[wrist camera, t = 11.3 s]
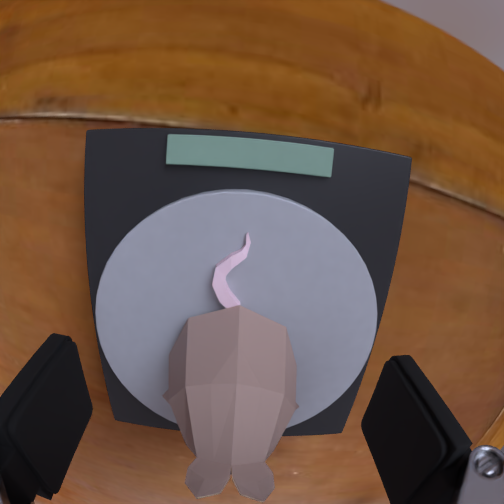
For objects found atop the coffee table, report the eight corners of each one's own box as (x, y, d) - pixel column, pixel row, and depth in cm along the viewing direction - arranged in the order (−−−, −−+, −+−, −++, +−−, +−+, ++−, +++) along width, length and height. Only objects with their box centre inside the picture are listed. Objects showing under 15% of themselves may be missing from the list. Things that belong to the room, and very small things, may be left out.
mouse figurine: (319, 239, 11) (404, 342, 5) (283, 404, 14) (303, 529, 7) (174, 223, 11) (94, 316, 5) (172, 395, 13) (144, 520, 7)
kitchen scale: (109, 132, 13) (76, 128, 10) (387, 155, 14) (422, 158, 11) (125, 393, 17) (110, 430, 14) (332, 405, 18) (345, 443, 15)
